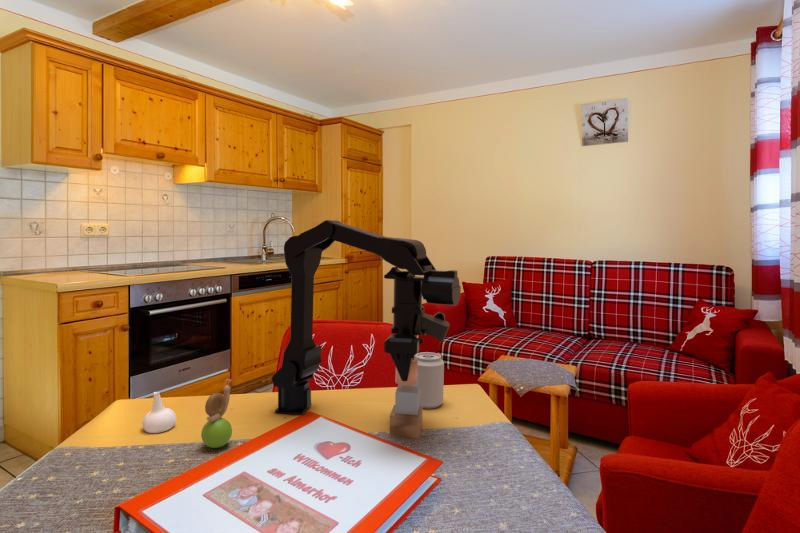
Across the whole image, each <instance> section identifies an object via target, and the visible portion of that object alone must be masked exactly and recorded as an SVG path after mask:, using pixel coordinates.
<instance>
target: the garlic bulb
mask: <svg viewBox="0 0 800 533" xmlns="http://www.w3.org/2000/svg"><path fill="white" fill-rule="evenodd" d="M176 422H177V415H176V413H175V411H174V410H172V409H171V408H169V407H165V406H164V404H163V401H162V397H161V395H160V391H154V392H153V400H152V408H151V410H150V411H149V412H147V413H146V414H145V415H144V417H143V420H142V428H143V430H144V431H145V432H146V433H149V434H159V433H163V432H166V431H169V430H170V429H172V428H173V427H174V426H175V425H176Z"/></svg>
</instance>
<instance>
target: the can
mask: <svg viewBox="0 0 800 533" xmlns="http://www.w3.org/2000/svg"><path fill="white" fill-rule="evenodd" d="M414 359H417V360H418V379H417V384H415V385H411V386H420V392H419V406H422V409H428V410H429V409H436V408H439V406H440V405H442V404H443V403H444V381H445V380H444V379H445V378H444V375H445V374H444V373H445V362H444V360H443V359H442V355H441V354H439V353H436V352H432V351H431V352H429V351H425V352H418V353H417V354H415V356H414Z"/></svg>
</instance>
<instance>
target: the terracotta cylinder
mask: <svg viewBox="0 0 800 533" xmlns="http://www.w3.org/2000/svg"><path fill="white" fill-rule="evenodd" d="M417 379H418V360H417V359H415V357H414V358H412V361H411V366H410V371H409V376H408V380H407V381H402V380H401V377H400V375H399V373H398V370H397V368H396V367H395V379H394V380H395V384H396V385H397V386H398V385H403V386H412V385H415V384H417Z"/></svg>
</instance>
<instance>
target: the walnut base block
mask: <svg viewBox="0 0 800 533" xmlns="http://www.w3.org/2000/svg"><path fill="white" fill-rule="evenodd" d="M389 414H390V415H389V435H388V436H389V437H392V438H403V439H405V438H406V439H415V440H416V439H418V440H419V439H420V437H421V432H422V430H423V429H422V428H423V408H422V406H419V410H418V414H417V415H406V414H395V404H394V405H393V407H392V409H391V412H390V413H389Z"/></svg>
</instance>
